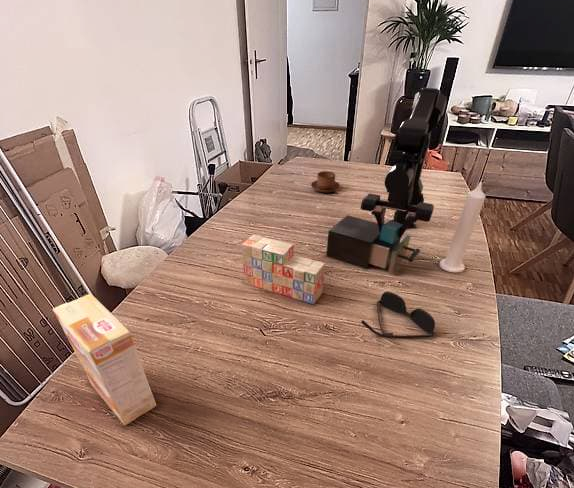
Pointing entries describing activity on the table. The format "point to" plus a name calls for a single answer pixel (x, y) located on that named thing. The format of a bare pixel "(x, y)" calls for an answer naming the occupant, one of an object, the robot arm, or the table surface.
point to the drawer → (391, 253)
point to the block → (391, 232)
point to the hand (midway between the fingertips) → (390, 235)
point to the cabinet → (352, 240)
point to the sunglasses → (398, 305)
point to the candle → (464, 231)
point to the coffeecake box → (107, 356)
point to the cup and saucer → (325, 182)
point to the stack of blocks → (281, 269)
